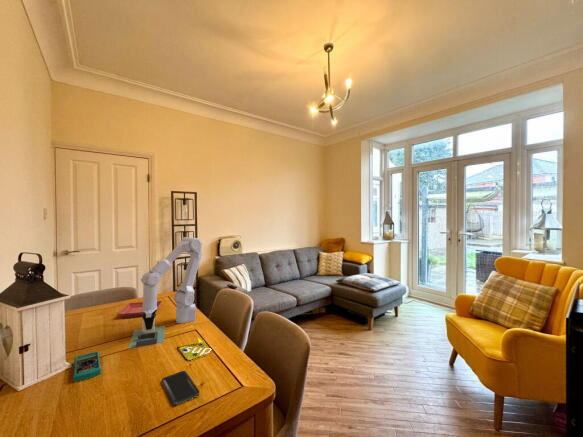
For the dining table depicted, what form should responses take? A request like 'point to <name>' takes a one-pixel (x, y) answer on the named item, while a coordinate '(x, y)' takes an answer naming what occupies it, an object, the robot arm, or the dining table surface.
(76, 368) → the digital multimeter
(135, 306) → the plant saucer
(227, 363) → the dining table surface
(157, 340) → the board
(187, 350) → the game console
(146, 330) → the keyed plug
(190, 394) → the phone
